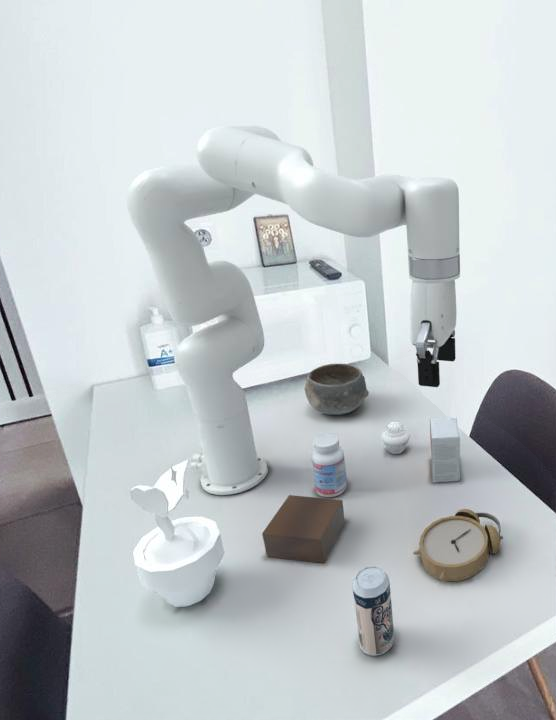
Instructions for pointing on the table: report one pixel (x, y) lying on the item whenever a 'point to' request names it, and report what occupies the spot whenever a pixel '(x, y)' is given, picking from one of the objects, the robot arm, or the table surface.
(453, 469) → the small box
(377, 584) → the beer can
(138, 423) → the table surface
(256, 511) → the table surface
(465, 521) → the alarm clock
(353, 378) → the bowl
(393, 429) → the muffin
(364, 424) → the table surface
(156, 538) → the potted plant
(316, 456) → the pill bottle
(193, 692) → the table surface
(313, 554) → the block
